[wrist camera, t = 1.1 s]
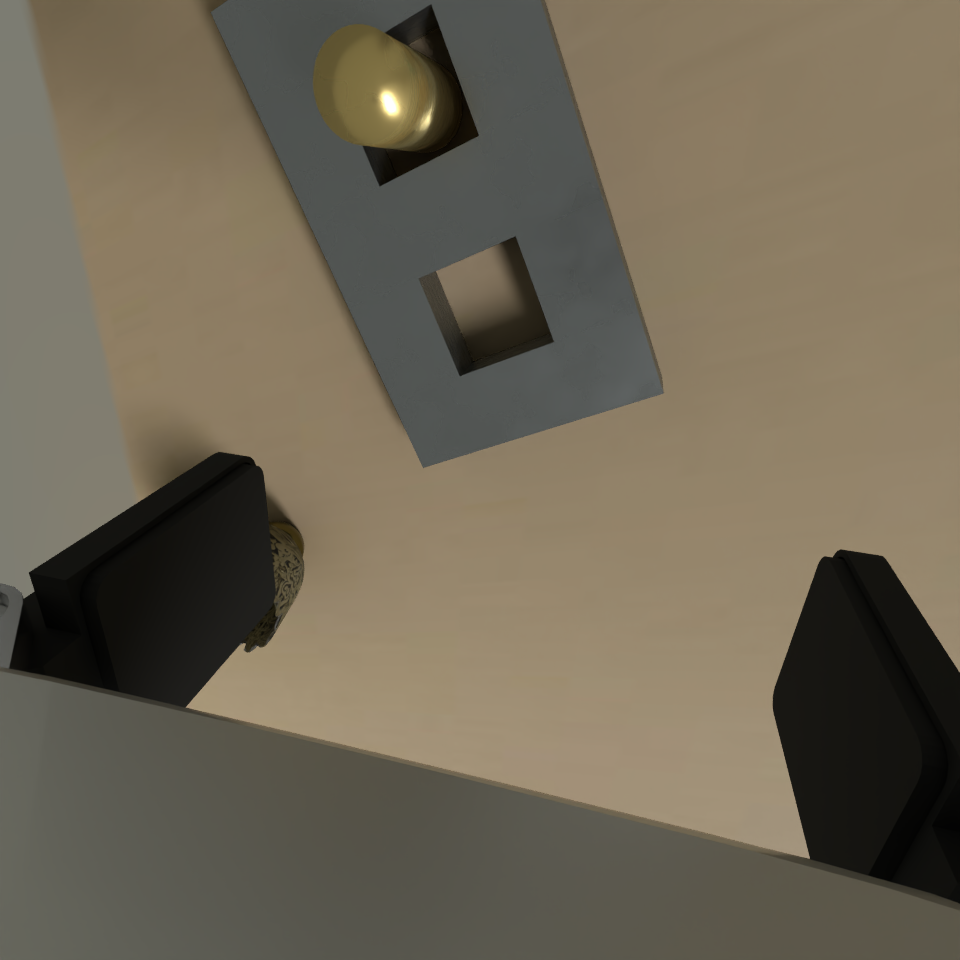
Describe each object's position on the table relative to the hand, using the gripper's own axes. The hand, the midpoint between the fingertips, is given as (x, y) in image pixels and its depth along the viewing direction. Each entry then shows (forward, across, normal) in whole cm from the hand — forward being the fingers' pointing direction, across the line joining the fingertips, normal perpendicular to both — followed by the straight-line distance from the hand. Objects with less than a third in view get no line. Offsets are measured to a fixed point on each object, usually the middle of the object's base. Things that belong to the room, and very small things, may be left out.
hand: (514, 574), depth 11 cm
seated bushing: (+26, +10, -9) cm, 29 cm away
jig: (+26, +8, -4) cm, 27 cm away
